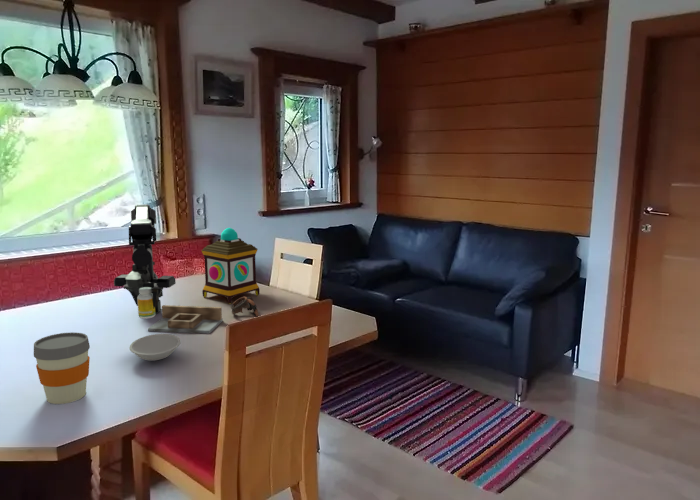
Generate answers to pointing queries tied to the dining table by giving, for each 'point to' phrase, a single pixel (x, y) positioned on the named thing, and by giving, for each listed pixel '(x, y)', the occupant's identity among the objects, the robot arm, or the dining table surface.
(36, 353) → the reusable coffee cup
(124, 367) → the dining table surface
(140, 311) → the supplement bottle
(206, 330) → the board
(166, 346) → the dish
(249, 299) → the grey-brown curved piece
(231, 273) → the decorative lantern
